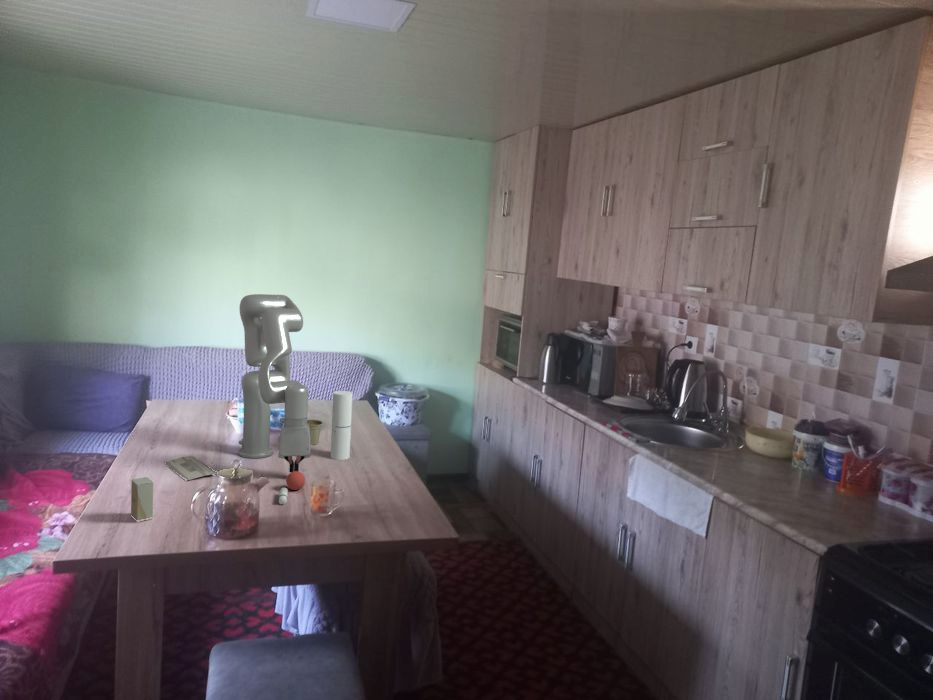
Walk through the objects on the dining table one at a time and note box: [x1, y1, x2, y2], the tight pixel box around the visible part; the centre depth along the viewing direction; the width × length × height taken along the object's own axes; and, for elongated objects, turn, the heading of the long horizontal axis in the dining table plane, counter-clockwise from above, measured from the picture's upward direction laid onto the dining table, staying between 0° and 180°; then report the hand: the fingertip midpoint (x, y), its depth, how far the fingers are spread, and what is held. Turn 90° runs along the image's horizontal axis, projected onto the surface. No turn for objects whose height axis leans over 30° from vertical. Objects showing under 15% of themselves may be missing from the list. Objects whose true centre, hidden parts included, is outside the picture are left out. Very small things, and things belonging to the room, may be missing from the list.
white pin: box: [278, 487, 289, 505], centre depth 203 cm, size 2×2×8 cm
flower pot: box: [307, 419, 324, 446], centre depth 264 cm, size 9×9×9 cm
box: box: [130, 476, 154, 520], centre depth 182 cm, size 5×4×11 cm
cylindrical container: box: [330, 390, 354, 461], centre depth 248 cm, size 7×7×25 cm
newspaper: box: [163, 455, 218, 481], centre depth 225 cm, size 23×12×2 cm, turn 42°
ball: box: [285, 470, 306, 491], centre depth 212 cm, size 6×6×6 cm
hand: (293, 474), depth 223 cm, fingers closed
